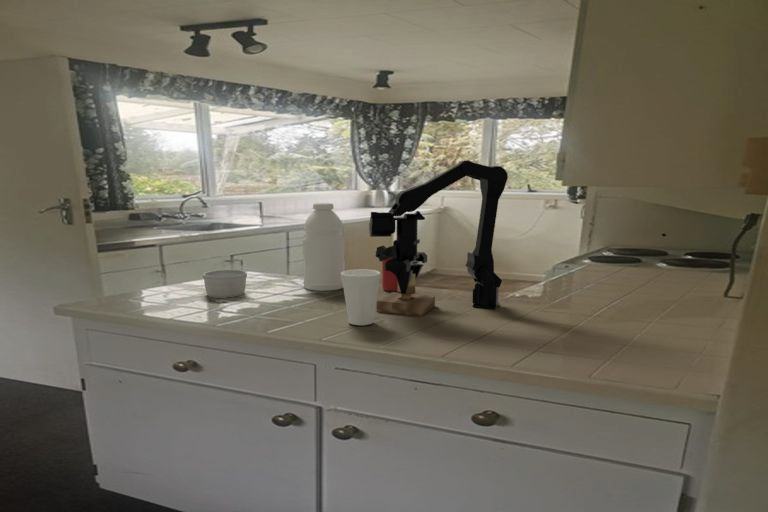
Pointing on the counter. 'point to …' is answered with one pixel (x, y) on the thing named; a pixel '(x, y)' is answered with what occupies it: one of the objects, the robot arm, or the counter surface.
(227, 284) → the ramekin
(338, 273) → the bottle
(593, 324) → the counter surface
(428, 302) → the board
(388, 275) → the beer can
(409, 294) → the peg
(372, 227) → the robot arm
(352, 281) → the cup
